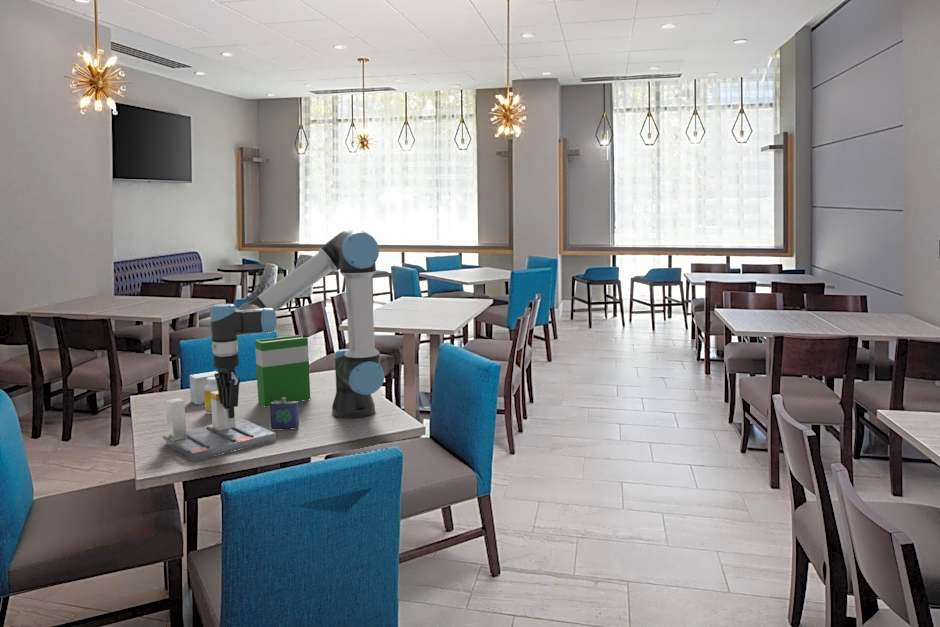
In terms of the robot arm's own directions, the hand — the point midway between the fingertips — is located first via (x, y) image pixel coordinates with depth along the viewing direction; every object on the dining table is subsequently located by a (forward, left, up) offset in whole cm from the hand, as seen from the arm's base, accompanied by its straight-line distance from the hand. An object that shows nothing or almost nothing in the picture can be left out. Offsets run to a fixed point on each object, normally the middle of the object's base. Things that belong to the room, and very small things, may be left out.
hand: (230, 427), depth 231 cm
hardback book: (+8, -46, -5) cm, 47 cm away
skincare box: (+37, -39, -5) cm, 54 cm away
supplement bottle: (+24, -26, -5) cm, 36 cm away
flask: (-10, -16, -5) cm, 19 cm away
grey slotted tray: (+2, +2, -4) cm, 5 cm away
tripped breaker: (+6, -3, -2) cm, 7 cm away
